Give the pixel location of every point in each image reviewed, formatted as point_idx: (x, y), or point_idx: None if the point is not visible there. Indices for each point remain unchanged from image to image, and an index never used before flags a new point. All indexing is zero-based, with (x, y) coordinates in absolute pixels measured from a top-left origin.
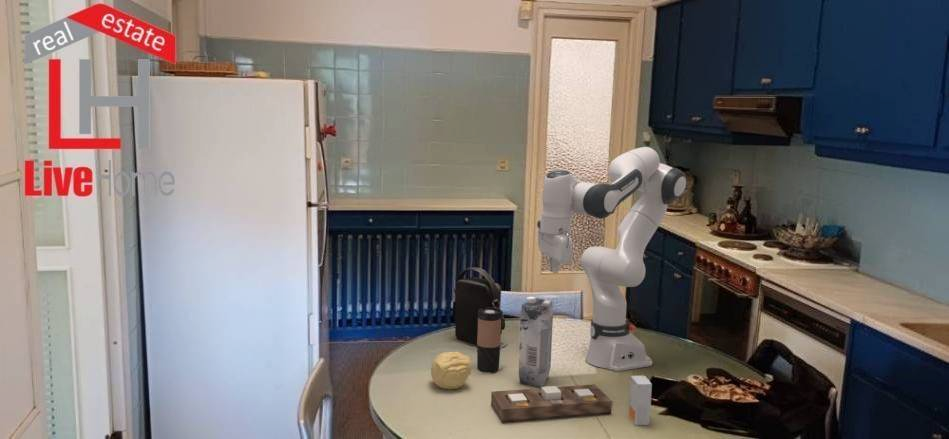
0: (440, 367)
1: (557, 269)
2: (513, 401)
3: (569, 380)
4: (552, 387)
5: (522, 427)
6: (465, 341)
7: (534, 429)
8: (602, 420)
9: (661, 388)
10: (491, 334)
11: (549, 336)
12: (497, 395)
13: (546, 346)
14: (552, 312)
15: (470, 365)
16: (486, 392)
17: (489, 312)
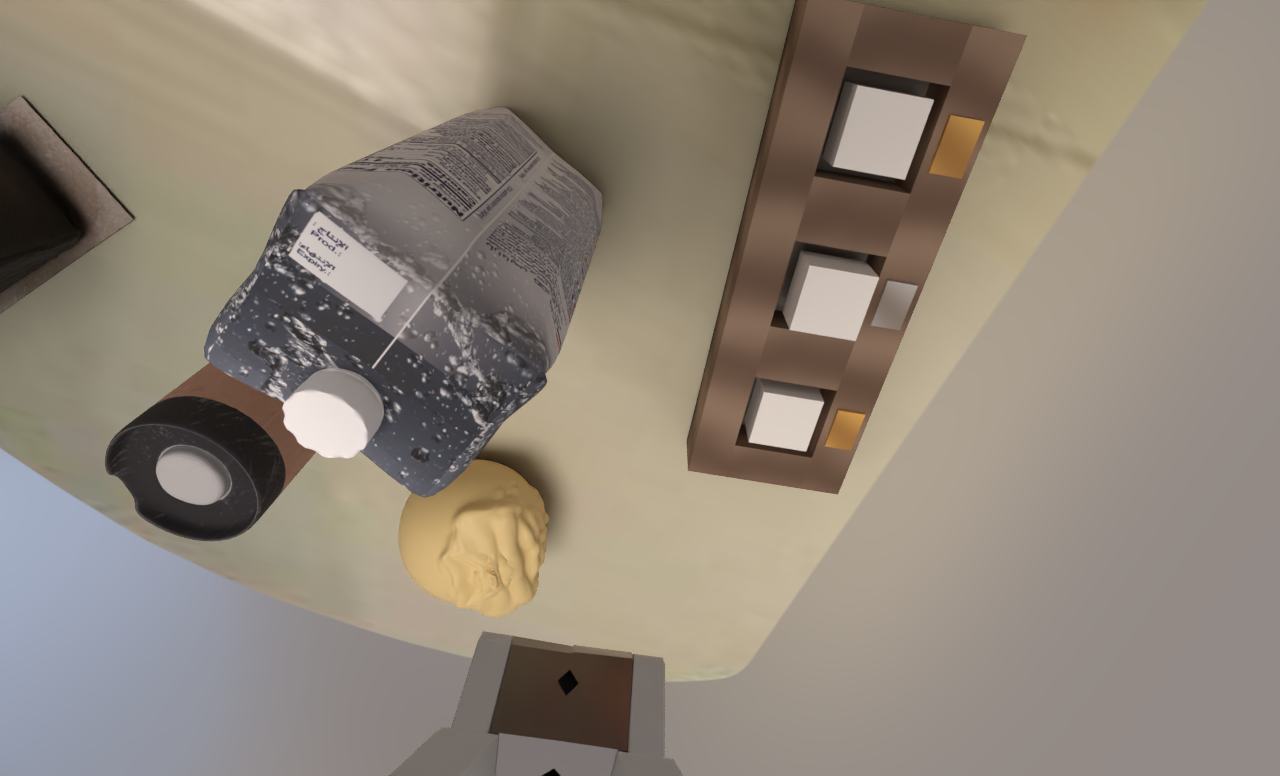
0: (524, 603)
1: (662, 724)
2: (807, 446)
3: (565, 7)
4: (816, 288)
5: (884, 422)
6: (6, 289)
7: (917, 396)
8: (1013, 116)
9: None
10: None
11: (515, 198)
12: (727, 465)
13: (577, 234)
14: (409, 191)
15: (515, 507)
16: (583, 415)
17: (213, 491)
